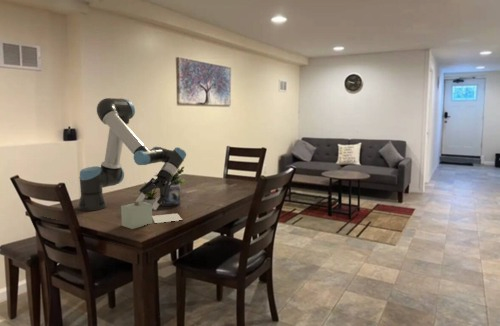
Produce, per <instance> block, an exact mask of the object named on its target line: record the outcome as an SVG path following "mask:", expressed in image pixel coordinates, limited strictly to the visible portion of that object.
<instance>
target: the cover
mask: <svg viewBox="0 0 500 326" xmlns="http://www.w3.org/2000/svg"><path fill="white" fill-rule="evenodd" d="M120 210H121V213H120V214H121V215H120V216H121V226H122V227H126V228H128V229H130V230H133V229H137V228H140V227H144V225H145V226H148V225H151V224H153V218H152V216H153V210H152V204H150V203H146V202H144V201H143V200H142V201H141V202H135V201H134V202H133V203H129V204H123V205H121V206H120ZM147 224H148V225H147Z"/></svg>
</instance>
